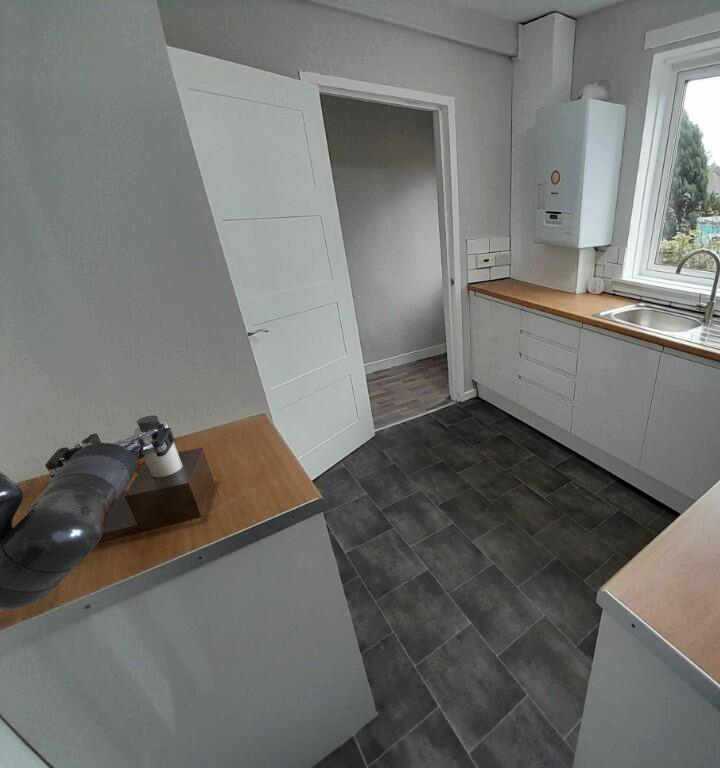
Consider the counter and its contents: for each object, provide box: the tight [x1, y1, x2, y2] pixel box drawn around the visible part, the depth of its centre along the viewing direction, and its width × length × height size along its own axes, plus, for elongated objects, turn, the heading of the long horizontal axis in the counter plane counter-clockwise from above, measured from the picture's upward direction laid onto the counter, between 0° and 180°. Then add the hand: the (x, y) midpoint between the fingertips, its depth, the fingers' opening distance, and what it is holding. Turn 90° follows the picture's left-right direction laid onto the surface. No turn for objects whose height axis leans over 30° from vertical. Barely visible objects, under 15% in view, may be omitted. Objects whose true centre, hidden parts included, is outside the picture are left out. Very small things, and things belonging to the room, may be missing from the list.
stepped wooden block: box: [97, 447, 215, 545], centre depth 84 cm, size 22×14×10 cm, turn 115°
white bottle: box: [133, 414, 183, 477], centre depth 82 cm, size 5×5×12 cm
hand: (128, 432), depth 71 cm, fingers open, 8 cm apart
